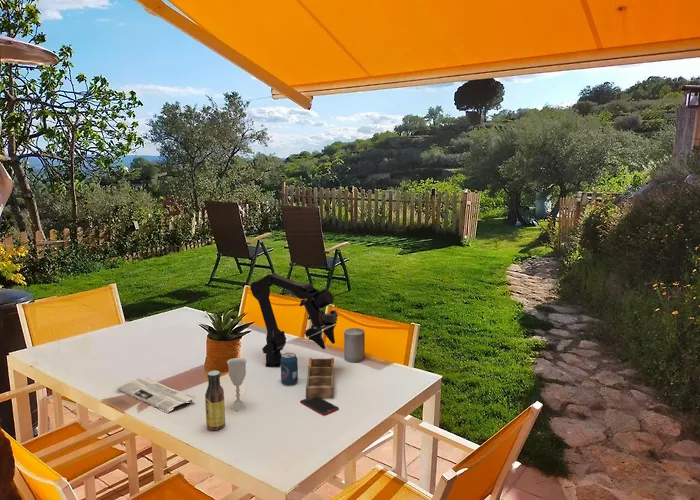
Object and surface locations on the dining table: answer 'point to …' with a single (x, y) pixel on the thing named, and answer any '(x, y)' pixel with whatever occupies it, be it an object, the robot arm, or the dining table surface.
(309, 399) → the cell phone
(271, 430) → the dining table surface
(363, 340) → the pillar candle
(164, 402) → the newspaper
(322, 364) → the rack
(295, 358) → the soda can
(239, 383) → the chalice
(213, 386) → the sauce bottle
